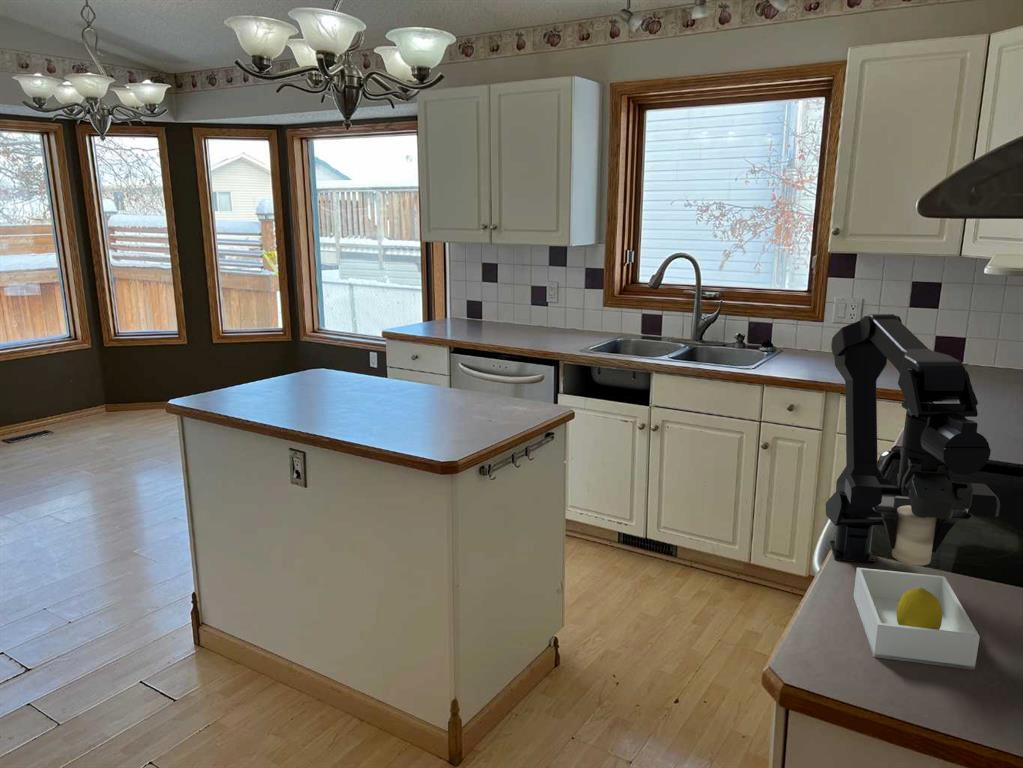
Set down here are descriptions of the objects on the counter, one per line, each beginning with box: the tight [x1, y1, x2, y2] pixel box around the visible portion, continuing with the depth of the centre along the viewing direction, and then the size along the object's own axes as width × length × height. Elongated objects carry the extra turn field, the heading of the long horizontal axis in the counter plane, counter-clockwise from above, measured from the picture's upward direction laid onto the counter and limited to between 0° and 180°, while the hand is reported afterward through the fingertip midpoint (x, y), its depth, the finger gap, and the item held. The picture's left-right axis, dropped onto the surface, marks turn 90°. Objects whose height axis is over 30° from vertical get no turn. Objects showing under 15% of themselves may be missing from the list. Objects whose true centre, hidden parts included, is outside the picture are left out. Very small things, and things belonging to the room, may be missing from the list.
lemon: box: [897, 588, 942, 630], centre depth 103 cm, size 6×6×8 cm
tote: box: [853, 567, 980, 671], centre depth 107 cm, size 16×12×5 cm
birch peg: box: [891, 505, 937, 566], centre depth 107 cm, size 5×5×7 cm
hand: (911, 549), depth 108 cm, fingers closed on birch peg, 5 cm apart
